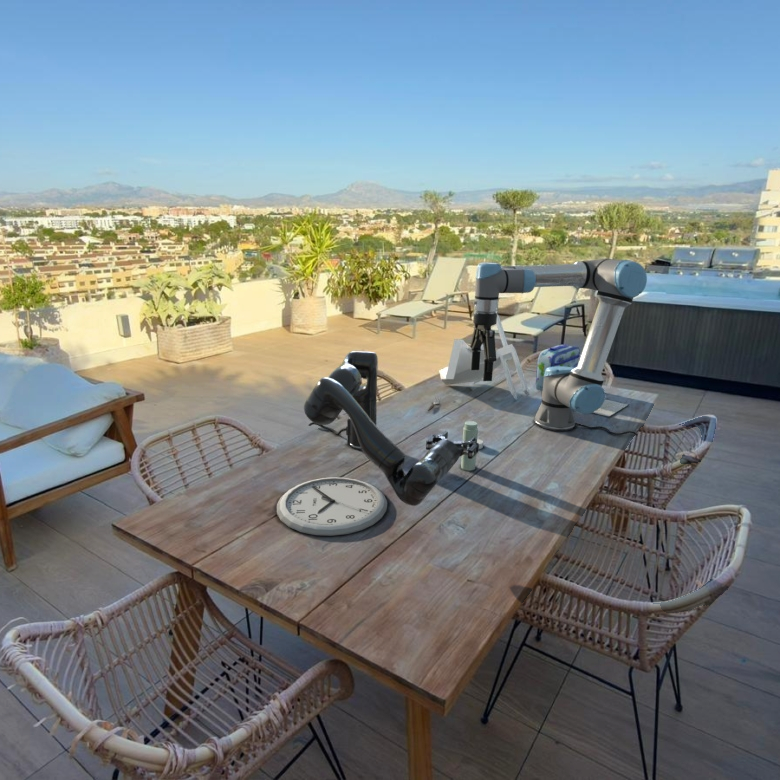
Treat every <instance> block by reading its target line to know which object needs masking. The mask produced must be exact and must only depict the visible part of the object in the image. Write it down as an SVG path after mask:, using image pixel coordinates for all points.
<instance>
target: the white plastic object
mask: <svg viewBox="0 0 780 780" xmlns="http://www.w3.org/2000/svg"><path fill="white" fill-rule="evenodd" d="M495 326H496V328H497V332H498V335H499V338H500V342H501V345H502V347H500V348H498V349H496V361H494V362H493V371H495V370H496V369H497V368H499V367H500V366H502V370H503V373H504V376H505V380H506V383H507V386H508V390H509V393H510V394H511V395H512V397H513V398H514V399H515V400H517V392H516V391H517V390H516V388H515V385H514V381H513V378H512V375H511V371H510V369H509V365H508V361H510V360H513V363H514V366H515V369H516V372H517V376H518V380H519V382H520V385H521V389H522V391H523V393H524V395H525V396H526V397H528V396H531V395H530V390H529V388H528V387H529V386H528V384H527V381H526V378H525V375H524V371H523V369H522V368H523V367H522V366H521V362H520V359H519V355H518V352H517V349H516V347H515V346H514V345H513V343H511V344H508V341H507V337H506V334H505V331H504V328H503V325H502V321H501V318H500V315H499V314H498V313H497V323H496V324H495ZM484 360H485V353H484V347H483V344H482V345H481V351H480V365H479V370H471V362H472V348H471V347H470V345H468V343H466V342H465V340H464V339H463V338H460V339H458V338H454V340H453V344H452V349H451V353H450V357H449V362H448V366H446V367H444V368H442V369H440V370H439V371H438V372H439V376H440V381H442V383H443V384H444V385H445V386H449V385H458V384H467V383H468V384H469V383H473V384H477V383H480V382H482V381H483V375H484Z"/></svg>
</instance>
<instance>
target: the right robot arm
mask: <svg viewBox="0 0 780 780" xmlns="http://www.w3.org/2000/svg"><path fill="white" fill-rule="evenodd" d="M647 281H648V275H647V272H646V269H645V268H644V266H643V265H642V264H640V263H639V262H637V261H633V260H631V259H630V260H628V259H615V258H599V259H591V260H579V261H578V260H577V261H576V262H574V263H572V264H571V263H570V264H569V263H568V264H537V265H535V264H534V265H532V264H531V265H504V266H503V265H501V263H499V262H480V263H478V265H477V266H476V273H475V289H474V291H475V292H474V301H473V302H472V305H473V309H474V310H473V311H474V312H473V316H472V317H473V318H472V321H473V324H474V327H473V328H474V329H473V332H472V337H471V341H470V345H469V347H471V348H472V362H471V370H479V365H480V351H481V345H483V347H484V353H485V360H484V375H483V380H482V381H483V382H492V381H493V373H494V370H493V362H494V361H496V350H497V349H496V338H495V337H496V331H495V329H492V326H496V323H497V314H498V311H499V299H500V298H499V297H500V296H499V295H500V294H528V293H532V292H533V291H534V289H535V288H545V287H546V288H547V287H573V288H574V289H584V290H585V289H586V290H592V291H597V293H596V298H597V300H598V304H597V307H596V310H595V313H594V316H593V318H592V322H591V325H590V327H589V331H588V334H587V336H586V339H585V342H584V345H583V348H582V350H581V352H580V358H579V362H578V365H577V367H576V368H573V367H562V366H557V367H549V368H547V369H546V370H545V373H544V382H543V391H541V392H542V394H541V402H540V405H539V407H538V408H537V411H536V413H535V417H534V424H535V425H536V426H537V427H539V428H542V429H544V430H549V431H556V432H567V431H572V430H574V429H575V428H576V426H580V427H583V428H586V429H590V430H594V429H602V430H605V431H606V432H608V433H609V434H611V435H614V436H623V435H626V434H633V435H634V436H639V435H638V433H637V432H635V431H634V430H627V431H622V432H613V431H612V430H610V429H608V428H607V427H605V426H600V425H599V426H597V425H596V426H590V425H586V424H582V423H579V422H576V418H575V417H576V416H575V413H574V412H577V413H579V414H581V415H590V414H594V413H593V412H594V411H596V410H598V409H599V408H600V407H601V406H602V404H603V402H604V400H605V399H606V392H605V389H604V388H603V384H604V381H605V378H604V376H603V375H602V374H603V371H604V368H605V365H606V362H607V359H608V357H609V354H610V351H611V348H612V346H613V343H614V339H615V337H616V334H617V331H618V328H619V326H620V324H621V320H622V318H623V315H624V311H625V309H626V308H627V307H628V306H631V305H632V303H633V300H634V298H636V297H639V296H640V295H641V294H642V293H643V292H644V290H645V289H646V286H647Z"/></svg>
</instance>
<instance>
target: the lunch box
mask: <svg viewBox="0 0 780 780" xmlns="http://www.w3.org/2000/svg"><path fill="white" fill-rule="evenodd" d="M580 350H581V349H580V347H579V346H572V345H566V344H559V345H555V346H552V347H549V348H547V349H544V350H542V351H541V352H540V353H539V355H538V357H537V362H536V374H535V389H536V390H537V391H541V392H543V382H544V373H545V370H546V369H547V368H549V367H557V366H562V367H573V368H576V367H577V365H578V362H579V359H580V356H581V351H580Z"/></svg>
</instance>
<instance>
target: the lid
mask: <svg viewBox="0 0 780 780" xmlns="http://www.w3.org/2000/svg"><path fill="white" fill-rule="evenodd" d="M477 443H479V450H481V449H483V447H484V441H483V440H482V439H480V438H477Z"/></svg>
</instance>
